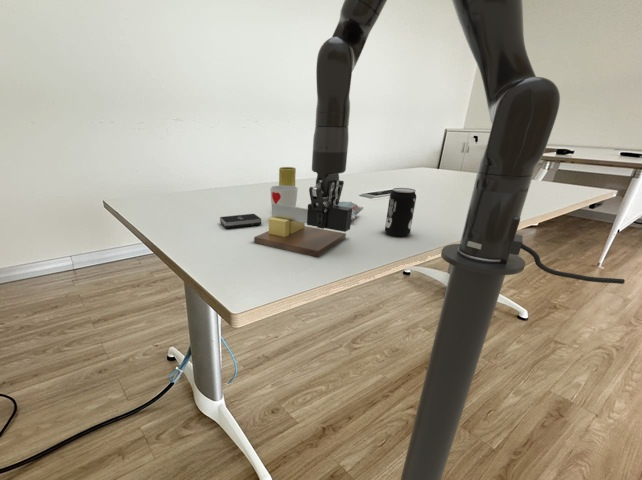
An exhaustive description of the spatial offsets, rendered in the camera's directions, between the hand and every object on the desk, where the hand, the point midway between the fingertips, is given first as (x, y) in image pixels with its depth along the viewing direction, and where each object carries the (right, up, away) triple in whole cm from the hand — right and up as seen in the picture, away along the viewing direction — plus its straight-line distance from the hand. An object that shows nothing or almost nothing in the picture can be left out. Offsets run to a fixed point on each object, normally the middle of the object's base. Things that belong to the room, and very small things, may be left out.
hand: (324, 225), depth 82 cm
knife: (-3, +1, +2) cm, 4 cm away
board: (-5, -3, +6) cm, 9 cm away
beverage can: (+22, -1, +12) cm, 25 cm away
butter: (-8, +1, +11) cm, 13 cm away
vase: (-8, +10, +34) cm, 37 cm away
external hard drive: (-22, +3, +20) cm, 30 cm away
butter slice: (-11, -1, +6) cm, 13 cm away
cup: (-9, +5, +24) cm, 26 cm away
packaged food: (+11, +6, +27) cm, 29 cm away
